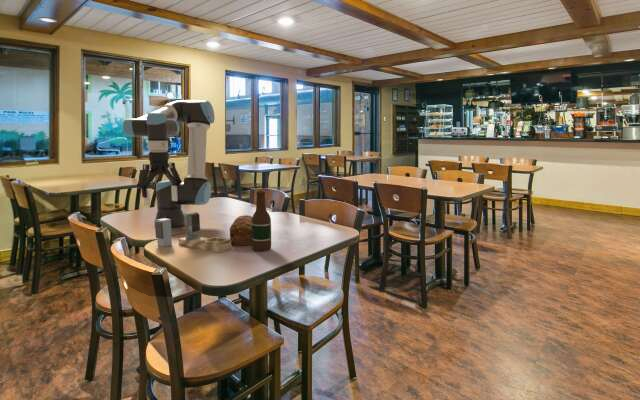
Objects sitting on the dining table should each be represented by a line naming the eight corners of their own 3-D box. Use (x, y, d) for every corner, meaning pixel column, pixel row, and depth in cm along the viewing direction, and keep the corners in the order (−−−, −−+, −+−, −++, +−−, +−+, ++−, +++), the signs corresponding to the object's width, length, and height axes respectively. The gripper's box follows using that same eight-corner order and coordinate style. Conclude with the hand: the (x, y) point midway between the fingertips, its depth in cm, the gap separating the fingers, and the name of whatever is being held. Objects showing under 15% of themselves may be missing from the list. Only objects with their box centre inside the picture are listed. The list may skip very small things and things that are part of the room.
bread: (237, 235, 186) (236, 214, 184) (259, 235, 186) (259, 214, 185) (229, 246, 168) (228, 223, 166) (254, 246, 168) (254, 223, 166)
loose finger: (165, 243, 172) (164, 218, 170) (171, 244, 170) (170, 219, 168) (156, 245, 168) (154, 220, 166) (162, 247, 166) (160, 221, 164)
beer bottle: (261, 245, 169) (260, 189, 165) (275, 248, 164) (274, 190, 160) (248, 249, 162) (246, 191, 158) (262, 253, 158) (261, 193, 154)
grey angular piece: (178, 244, 170) (177, 213, 168) (191, 240, 176) (190, 210, 173) (219, 252, 158) (217, 219, 156) (231, 248, 164) (230, 216, 162)
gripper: (137, 152, 150) (140, 208, 153) (189, 150, 171) (191, 199, 174) (124, 152, 153) (128, 206, 157) (176, 150, 175) (179, 198, 178)
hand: (161, 203), depth 166 cm, fingers open, 13 cm apart
